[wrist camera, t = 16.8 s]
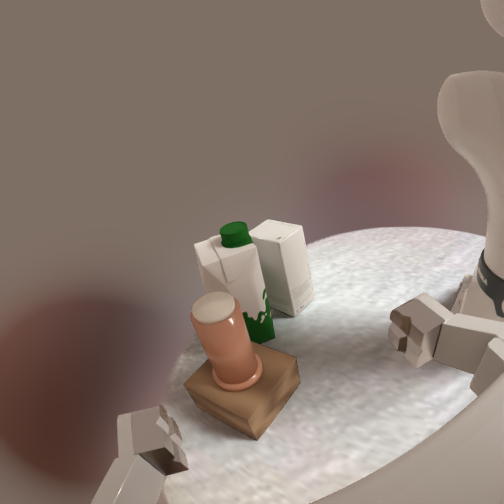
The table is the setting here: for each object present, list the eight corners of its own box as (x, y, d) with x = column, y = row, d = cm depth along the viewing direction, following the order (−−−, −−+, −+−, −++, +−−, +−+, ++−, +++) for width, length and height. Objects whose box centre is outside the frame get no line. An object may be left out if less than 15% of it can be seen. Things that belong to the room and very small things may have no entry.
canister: (234, 348, 43) (210, 282, 38) (272, 363, 39) (254, 293, 34) (204, 380, 39) (172, 315, 33) (243, 399, 35) (215, 332, 29)
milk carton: (282, 339, 51) (258, 233, 41) (231, 359, 49) (193, 256, 40) (264, 310, 58) (239, 213, 49) (219, 327, 57) (184, 232, 47)
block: (241, 359, 49) (232, 333, 46) (300, 382, 42) (295, 357, 39) (197, 407, 42) (183, 384, 39) (257, 440, 35) (247, 420, 32)
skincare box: (315, 299, 58) (305, 225, 51) (293, 320, 54) (279, 243, 47) (282, 286, 64) (268, 217, 56) (260, 304, 60) (242, 233, 53)
